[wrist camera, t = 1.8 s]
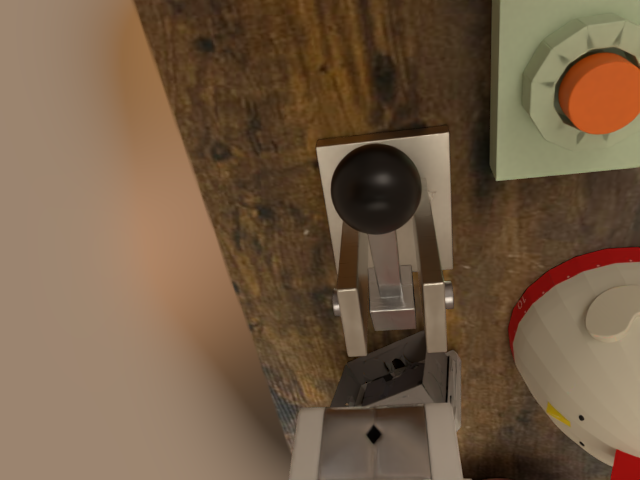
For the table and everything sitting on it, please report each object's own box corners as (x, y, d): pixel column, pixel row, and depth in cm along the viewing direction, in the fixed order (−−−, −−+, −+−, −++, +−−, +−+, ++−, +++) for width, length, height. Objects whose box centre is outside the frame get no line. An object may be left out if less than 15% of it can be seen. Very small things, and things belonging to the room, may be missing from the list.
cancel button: (560, 57, 27) (571, 67, 25) (639, 47, 26) (655, 56, 25) (555, 126, 29) (564, 139, 27) (628, 118, 28) (641, 130, 27)
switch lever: (323, 130, 19) (323, 207, 17) (416, 119, 18) (425, 198, 17) (362, 283, 30) (365, 339, 28) (421, 279, 30) (427, 335, 28)
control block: (492, -27, 28) (507, -15, 25) (680, -56, 27) (723, -47, 24) (489, 165, 34) (501, 195, 31) (643, 149, 33) (674, 180, 29)
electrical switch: (361, 393, 46) (352, 488, 38) (328, 352, 45) (311, 441, 37) (461, 354, 43) (475, 448, 35) (429, 306, 41) (436, 395, 33)
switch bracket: (317, 139, 34) (294, 243, 24) (447, 124, 33) (478, 227, 23) (338, 268, 39) (326, 396, 30) (451, 259, 38) (478, 389, 28)
